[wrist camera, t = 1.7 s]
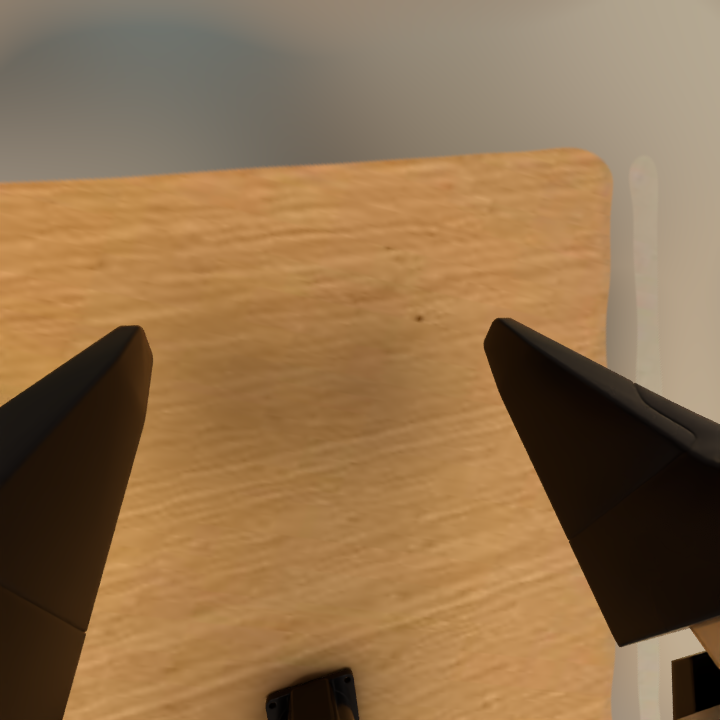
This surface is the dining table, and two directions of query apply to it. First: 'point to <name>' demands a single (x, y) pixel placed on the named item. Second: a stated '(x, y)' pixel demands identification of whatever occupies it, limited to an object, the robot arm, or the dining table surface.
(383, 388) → the dining table surface
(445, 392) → the dining table surface
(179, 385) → the dining table surface
